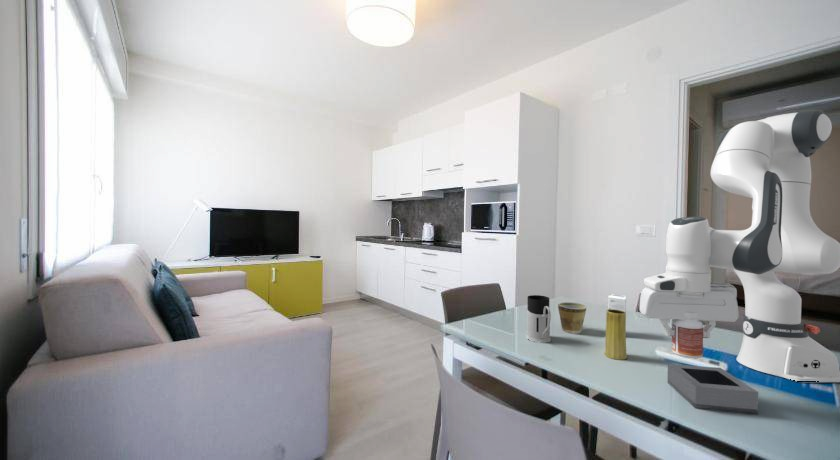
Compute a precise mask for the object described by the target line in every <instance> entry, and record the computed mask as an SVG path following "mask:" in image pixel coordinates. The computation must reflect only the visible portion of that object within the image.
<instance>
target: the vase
mask: <svg viewBox="0 0 840 460" xmlns="http://www.w3.org/2000/svg"><path fill="white" fill-rule="evenodd" d="M605 319H606V321H605V339H604V340H605V342H604V343H605V345H604V348H605V349H604V356H606V357H607V358H610V359H611V360H612V359H613V360H618V361H620V360H621V361H624V360H627V358H628V356H627V355H628V354H627V336H626V335H627V334H626V333H627V332H626V330H627V329H626V326H627V321H626V319H627V311H626V312H624V311H621V310H616V309H606V318H605Z"/></svg>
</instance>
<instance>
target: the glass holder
mask: <svg viewBox="0 0 840 460" xmlns="http://www.w3.org/2000/svg"><path fill="white" fill-rule="evenodd" d="M551 313H552V312H551V309H550V297H549V296H546V295H540V294H538V295H537V294H535V295H534V294H533V295H531V294H530V295H528V296H527V309H526V335H525V339H526V338H527V339H529V340H532V341H535V342H534V343H537V342H540V343H539V344H546V342H547V343H549V342H551V341H552V338H551V336H550V334H551V331H550V329H551V326H550V325H551V318H552V317H551V316H552V315H551ZM527 339H526V340H527ZM529 340H528V341H529ZM532 341H531V342H532Z"/></svg>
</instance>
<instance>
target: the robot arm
mask: <svg viewBox="0 0 840 460" xmlns="http://www.w3.org/2000/svg"><path fill="white" fill-rule="evenodd" d="M832 129H833V127H832V121H831V118H830V116H829V114H827V113H826V112H825V111H824V110H822V109H804V110H800V111H798V112H791V113H783V114H777V115H773V116H768V117H766V118H762V119H759V120H750V121H744V122H740V123H737V124H735V125H734V126H732V127H730V128H728V129H726V130H725V131H724V132H723V133H722V134H721V136H720V138H719V140H718V149H717V151H716V153H715V156H714V159H713V161H712V163H711V167H710V174H709V175H710V177H711V180H712V182H713V184H715V185H716V186H717V187H718V188H720V189H721V190H723V191H726V192H728V193H730V194H734V195H739V196H743V197H747V198H750V199H752V203H751V210H752V213H751V214H752V215H751V226H749V227H748V228H746V229H741V230H738V229H737V230H736V229H735V230H733V229H731V230H729V229H715V228H714V227H711V226H710V222H709V220H708V218H707V217H702V216H686V217H678V218H675V219H673V220H670V222H669V223H668V225H667V226H668V227H667V231H666V237H665V254H666V258H667V262H666V265H665V271H664V272H663V273H660V274H659V273H658V274H655V275H651V276H648V277H645V278H643V284H644V286H645V287H644V288H643V289H642V290H641V292H640V298H639V312H640V313H641V315H642V316H644V317H645V318H647V319H659V322H660V324H661V325H662V326H663V328H664V334H665V335H664V336H666V337H672V336H675V334H674V333H675V330H674V329H672V327H671V326H670V325H669V324H671V320H672V319H679V320H685V319H686V318H685V317H684V313H685V312H688V313H698V319H696V320H699V321H703V322H704V323H705V325H703V339H710V337H711V332H712V331H713V330H714V328H715V327H716V322H728V323H729V322H732V323H733V322H736V321H737V320H738V319H739V317H740V315H739V314H740V313H739V305H738V300H737V297H738V291H737V290H738V289H737V288H736V286H734V285H732V284H731V283H730V282H714V281H713V282H712V270H711V269H712V268H718V269H726V270H733V272H734V273H735V274H736V276H737V277H738V279H739V280H740V283H741V285H742V287H743V291H744V293H743V294H744V304H745V305H744V306H745V307H744V308H745V309H744V312H745V313H744V314H742V333H743V337H742V341H741V345H740V350H739V353H738V355H737V356H736V359H735V360H736V361H737V362H738V363H739V364H740V365H743V366H744V367H747V368H749V369H752V370H755V371H758V372H761V373H763V374H764V373H766V374H768V375H773V376H776V377H780V378H785V379H787V380H790V379H791V380H790V381H793V380H795V381H794V382H797V381H816V382H815V383H840V364H839V361H838V358H837V356H836V354H834V352H833V351H831V350H829V349H828V348H826V346H823V345H822V344H821V343H819V342H817V341H816V340H814V339H813V338H812V337H810V335H809V333H812V334H814V335H818V334H819V333H820V332H821V330H820V328H819V327H818V326H816V325H812V324H805V323H803V322H802V302H803V301H802V297H801V295H800V293H798V292H797V291H796V289H794V288H793V287H791V286H788V285H786V284H785V283H783V282H782V281H780V280H779V278H778V277H777V275H776V273H775V272H779V273H787V274H795V275H796V274H797V275H827V274H829V275H830V274H832V273H834V272H836V271H837V270H838V269H840V242H839V241H838V240H836V239H835V238H833V237H832V236H830V235H828V234H826V233H825V232H824V231H822V230H821V229H820V228H819V227H818V226H817V224H816V223H815V221H814V219H813V217H812V214H811V210H810V209H811V208H810V202H811V201H810V200H811V199H810V198H811V187H812V186H811V185H812V165H811V158H810V157H811V156H813V155H815V153H816V151H818V150H819V149H821V148H822V147H823V146H824V145H825V144H827V142H828V141H829V139H830V137H831V134H832ZM808 332H809V333H808ZM817 381H819V382H817Z"/></svg>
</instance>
